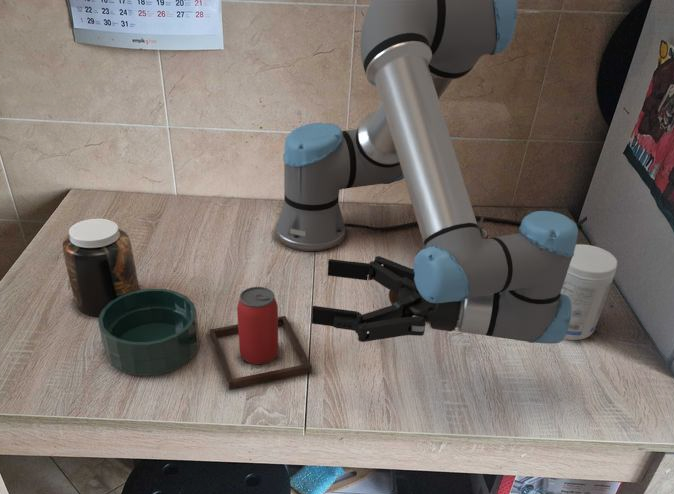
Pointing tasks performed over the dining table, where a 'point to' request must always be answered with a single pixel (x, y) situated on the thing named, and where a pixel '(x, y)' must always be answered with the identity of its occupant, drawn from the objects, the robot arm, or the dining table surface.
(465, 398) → the dining table surface
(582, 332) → the supplement tub
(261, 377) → the brown square frame
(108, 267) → the jar
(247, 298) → the beer can
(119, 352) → the green bowl
